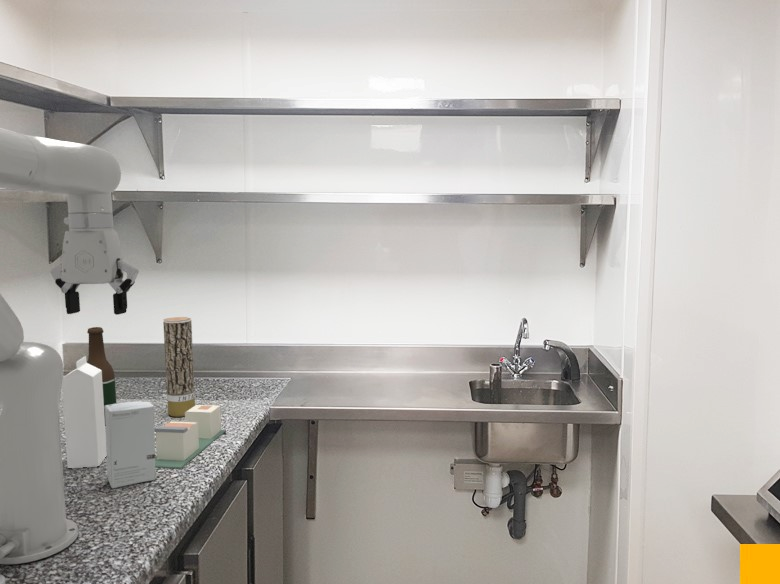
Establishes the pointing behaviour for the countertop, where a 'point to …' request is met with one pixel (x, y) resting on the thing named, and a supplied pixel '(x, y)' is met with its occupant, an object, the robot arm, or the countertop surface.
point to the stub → (205, 419)
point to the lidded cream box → (176, 440)
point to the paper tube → (179, 365)
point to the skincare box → (130, 443)
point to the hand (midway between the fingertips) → (96, 313)
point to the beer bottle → (101, 364)
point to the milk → (84, 416)
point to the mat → (179, 463)
